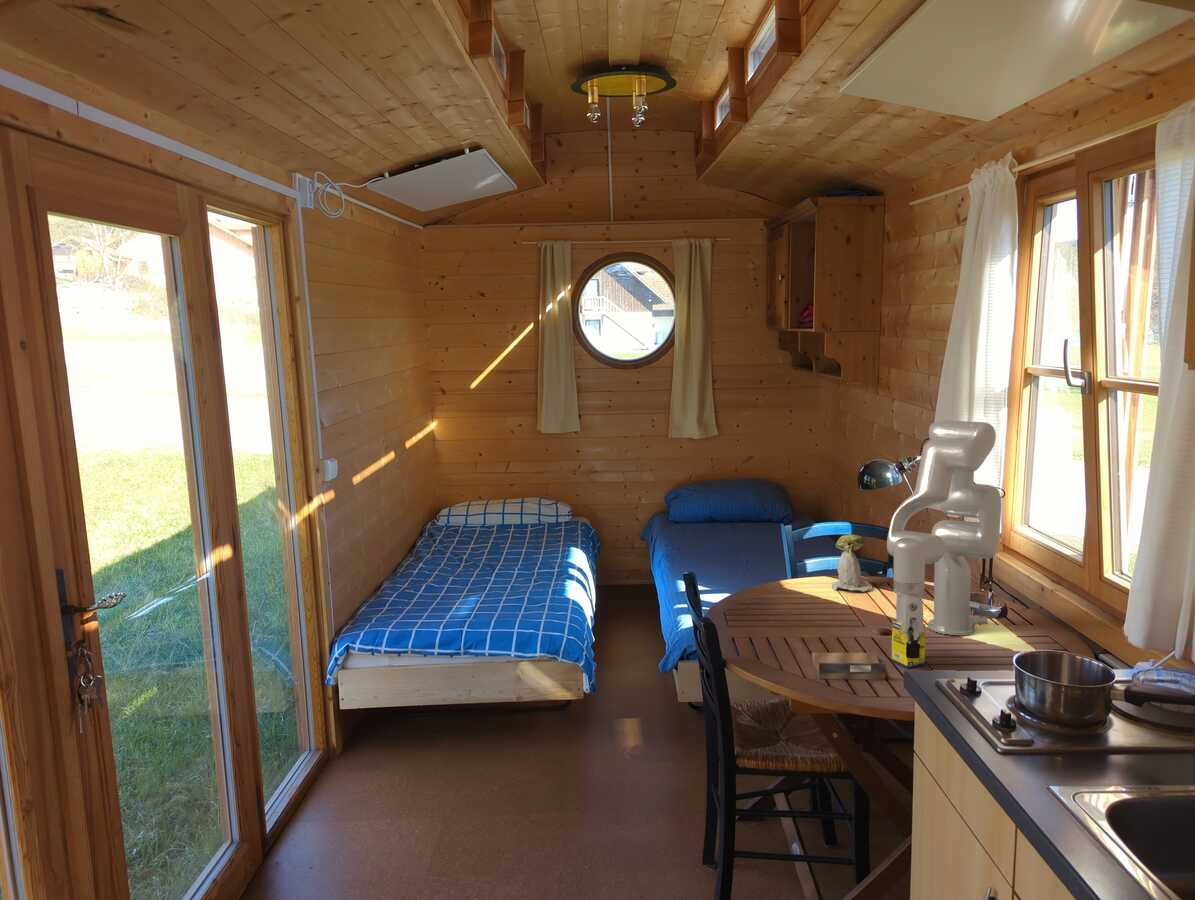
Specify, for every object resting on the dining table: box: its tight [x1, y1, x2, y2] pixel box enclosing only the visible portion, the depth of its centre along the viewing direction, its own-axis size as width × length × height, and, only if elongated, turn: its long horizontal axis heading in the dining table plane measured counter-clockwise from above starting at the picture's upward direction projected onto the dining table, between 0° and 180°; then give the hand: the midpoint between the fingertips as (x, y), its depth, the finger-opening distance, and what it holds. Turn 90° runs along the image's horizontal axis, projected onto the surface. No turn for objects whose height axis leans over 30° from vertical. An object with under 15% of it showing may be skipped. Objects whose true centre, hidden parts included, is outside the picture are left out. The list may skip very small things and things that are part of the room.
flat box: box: [811, 652, 886, 681], centre depth 223 cm, size 16×14×4 cm
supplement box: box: [891, 620, 926, 669], centre depth 224 cm, size 6×6×11 cm
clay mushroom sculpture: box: [831, 533, 873, 593], centre depth 289 cm, size 12×13×18 cm
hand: (908, 650), depth 225 cm, fingers open, 9 cm apart
